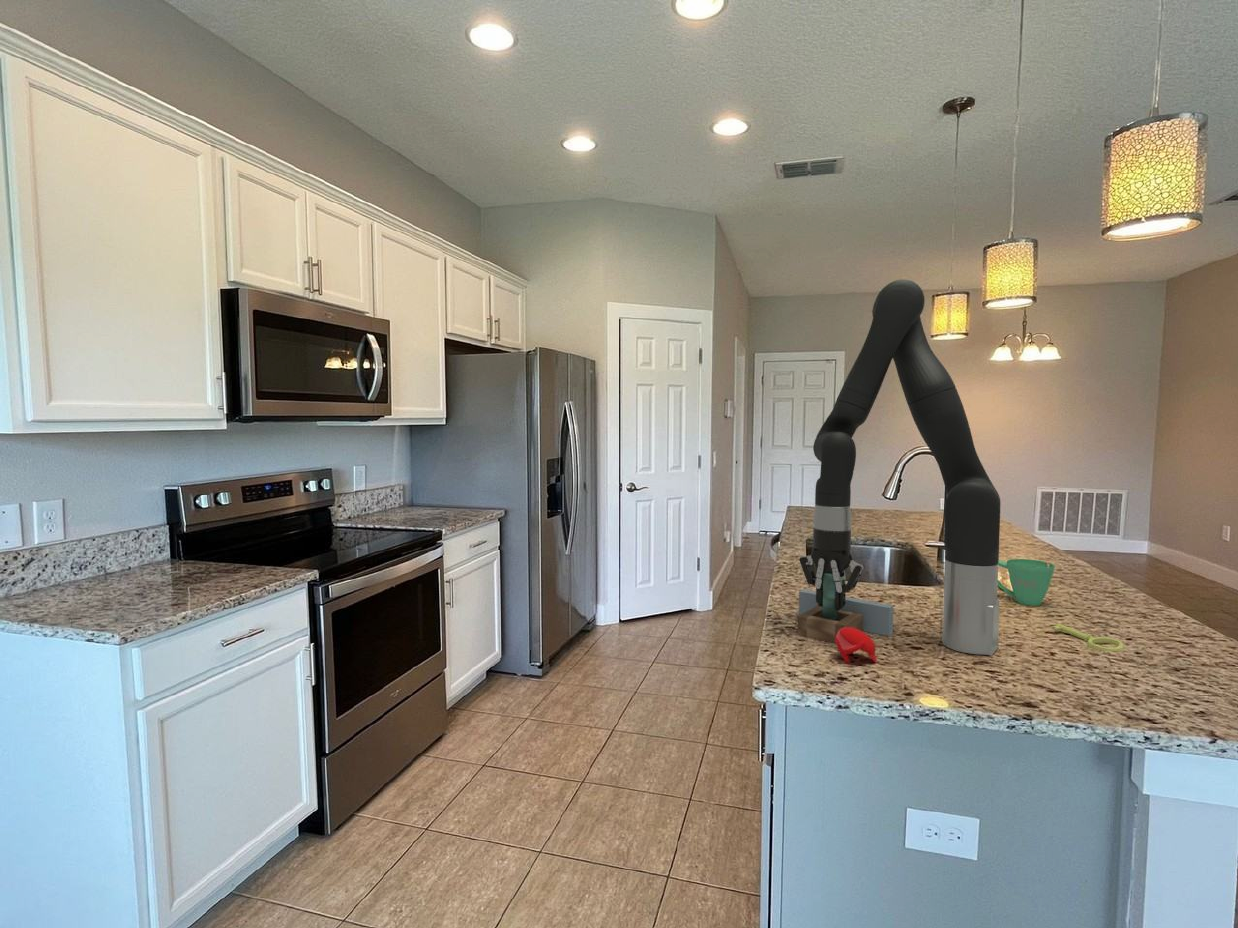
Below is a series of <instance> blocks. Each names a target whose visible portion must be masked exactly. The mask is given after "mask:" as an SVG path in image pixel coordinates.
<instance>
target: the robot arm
mask: <svg viewBox="0 0 1238 928" xmlns="http://www.w3.org/2000/svg"><path fill="white" fill-rule="evenodd" d="M923 291H924V290H922V288H921V287H920V286H919V284H917V283H916V282H915V281H912V280H909V279H897V280H894V281H892V282H890V283H888V284H886V285H885V286H884V287H882V289H881V290H879V292H878V293H877V295H876V298H875V301H874V303H873V305H872V306H873V307H872V310H871V311H872V320H871V324H870V328H869V329H868V333H867V336H866V338H865V341H864V343H863V346H861V350H860V351H859V353H858V355H857V358H856V359H855V362H854V363H853V365H852V367H851V369H850V370H849V373H848V375H847V376H846V379H845V380H844V382H843V384H842V387H841V389H840V392H839V394H838V395H837V397H836V400H835V402H834V405H833V407H832V410H831V412H830V413H829V415H828V416H827V418H826V419H825V421H824V422H823V424H822V426H821V428H820V429H819V431H818V432H817V433H816V436H815V439H814V443H813V448H812V449H813V454H814V456H815V458H816V459H817V460H818V461H820V473H819V475H820V477H819V478H818V479H817V480H816V483H815V492H814V496H815V497H814V498H815V499H814V504H815V505H814V510H813V520H812V525H813V526H812V527H813V528H812V530H813V531H812V551H811V553H810V555H809V554H808V555H804V556H802V557H800V558H799V564H800V566H801V569H802V572H803V574H804V577H805V580H806V582H807V584H808V585H812V586H814V587H815V592H816V602H817V603H818V606H822V600H823V572H824V573H830V574H833V578H834V581H835V584H836V590H837V592H836V601H835V609H837V610H840V609H842V607H844V606H845V597H846V592H850V591H853V590H854V589H855V588H856V587H857V585H858V583H859V581H860V578H861V576H862V575H863V572H864V571H865V569H866V566H865V564H863V563H858V562H856V561H855V560H854V559H853V557H852V553H851V544H852V543H851V542H852V512H851V511H852V510H851V494H852V492H851V484H852V480H853V476H854V470H855V468H856V466H855V465H856V459H857V450H856V449H857V448H856V447H857V446H856V443H855V441H854V439H853V437H854V435H855V433H856V431H857V430H858V428H859V427H860V426H862V425H863V424H864V423H865V422H866V420H867V419H868V417H869V414H870V413H871V411H872V408H873V406H874V404H875V403H876V399H877V397H878V395H879V393H880V390H881V387H882V385H883V382H884V380H885V377H886V375H887V372H888V369H889V367H890V365H891V362H892V361H893V362H894V365H895V368H896V369H895V370H896V372H897V376H898V379H899V382H900V385H901V388H902V389H901V390H902V391H903V394H904V398H905V401H906V403H907V407H908V409H909V411H910V414H911V417H912V419H913V421H914V424H915V425H916V428H917V430H918V432H919V434H920V436H921V437H922V440H923V441H924V442H925V444H926V446H927V447H928V450H929V451H930V452H931V454H932V455H933V458H934V459H935V461H936V463H937V465H938V468H939V471H940V474H941V478H942V481H943V485H944V487H945V491H946V498H945V503H944V528H943V530H944V532H943V533H944V534H943V535H944V539H943V540H944V541H943V542H944V543H943V544H944V571H943V572H944V574H943V575H944V577H943V604H942V605H943V606H942V607H943V608H942V609H943V610H942V632H941V634H942V641H941V642H942V645H943V646H945V647H946V648H948V649H950V650H953V651H957V652H960V653H964V654H970V655H986V656H993V655H994V654H995V652H996V651H997V649H998V647H999V628H1000V627H999V625H1000V600H998V589H999V588H998V580H999V565H998V562H999V560H1000V559H999V557H1000V529H1001V528H1000V527H1001V526H1000V525H1001V505H1002V504H1001V497H1000V494H999V492H998V490H997V489H996V488H995V486H994V484H993V482H992V481H991V479H990V477H989V475H988V473H987V472H986V469H985V468H984V465H983V463H982V462H981V460H980V457H979V455H978V452H977V450H976V447H975V444H974V441H973V440H974V439H973V435H972V431H971V427H970V423H969V420H968V416H967V414H966V411H965V409H964V405H963V402H962V399H961V397H960V394H959V392H958V389H957V387H956V385H955V382H954V380H953V378H952V377H951V375H950V373H949V372H948V371H947V369H946V368H945V366H944V365H943V364H942V362H941V361H940V360H939V358H938V357H937V356H936V354H935V353H934V352H933V350H932V348H931V346H930V344H929V342H928V339H927V336H926V333H925V329H924V327H923V326H924V325H923V323H922V320H921V319H922V318H921V315H922V313H923V311H924V307H925V295H924V292H923ZM813 564H814V565H815V566H816V568H817V569H816V572H815V570H814V567H813ZM849 567H850V568H849ZM848 568H849V569H850V573H851V575H850V577H849V579H848V580H847V579H846V578H847V576H846V570H847V569H848ZM846 580H847V582H846Z"/></svg>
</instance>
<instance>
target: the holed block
mask: <svg viewBox="0 0 1238 928" xmlns="http://www.w3.org/2000/svg"><path fill="white" fill-rule="evenodd" d="M844 627H851V628H855V629H858V630H860V631H862V632H864V631H863V614H859V613H854V612H849V611H844V610H838V621H835V620H830V619H825V618H822V606H818V605H817V606H816V607H814V608H812V609H810V610H808V611H806V612H804V613H803V614H801V615H799V614H798V616H797V635H798V636H803V637H807V638H810V639H816V640H821V641H823V642H829V643H833V644H836V640H835V637H836V635H837V633H838V631H839V630H840V629H842V628H844Z"/></svg>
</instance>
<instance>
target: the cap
mask: <svg viewBox="0 0 1238 928" xmlns="http://www.w3.org/2000/svg"><path fill="white" fill-rule="evenodd" d="M835 640H836V643H835V644H836V646H837V649H838V651H839V653H840V655H841V657H842V659H843V661H844V662H845V663H846V664H849V663H850V662H851V660H850V658H849V656H850V655H853V654H854V653H856V652H857V651H859V650H860V651H862V652H864V653H867V654H868V656H869V657H870V659H871V660H872V662H874V663H877V662H878V661H877V657H876V649H877V647H876V645H875V643H874V641H873V640H872V638H871V637H870V636H869V635H868V634H866V633H865V631H863V632H862V631H860V630H858V629H855V628H851V627H844V628H842V629H840V630H839V631H838V633H837V635H836V637H835Z"/></svg>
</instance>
